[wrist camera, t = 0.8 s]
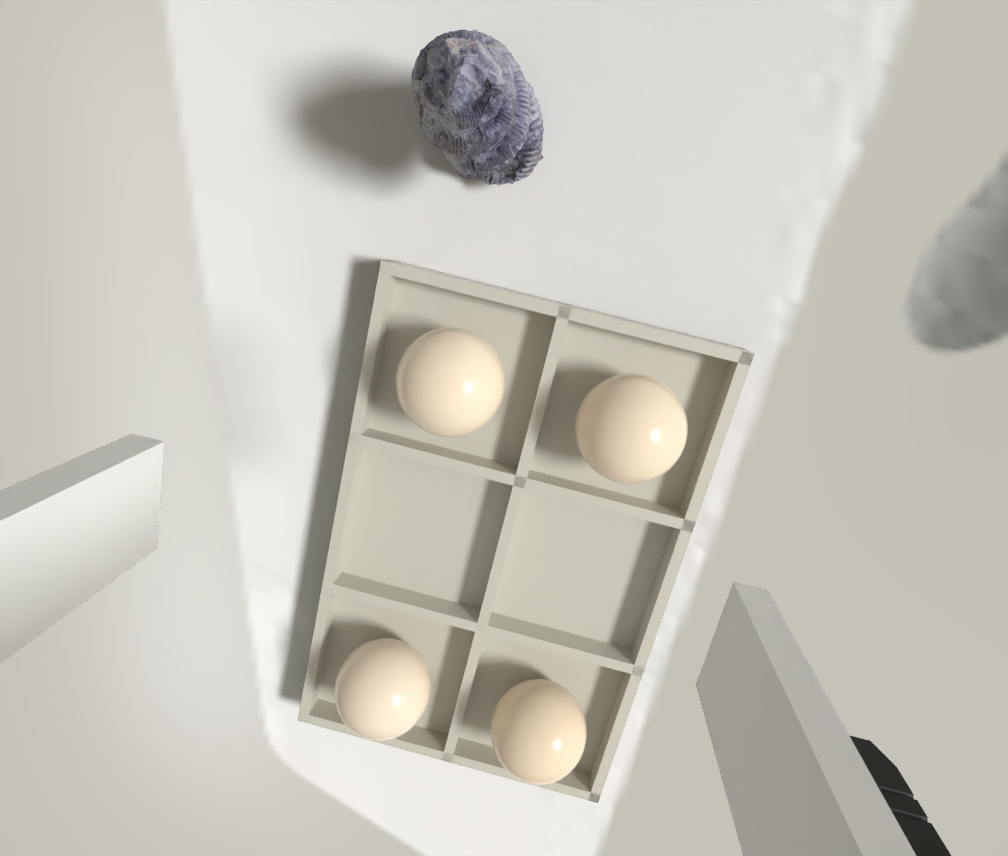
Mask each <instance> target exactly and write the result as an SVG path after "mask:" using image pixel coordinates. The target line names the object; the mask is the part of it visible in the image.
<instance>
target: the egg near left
mask: <svg viewBox="0 0 1008 856" xmlns="http://www.w3.org/2000/svg"><path fill="white" fill-rule="evenodd" d="M505 383H506V380H505V372H504V367H503V365H502V362H501V359H500V358H499V356H498V354H497V352H496V351H495V350H494V348H493V347H492V346H491V345H490V344H489V343H488V342H487V341H486V340H485V339H484V338H482V337H481V336H479V335H478V334H476V333H473V332H471V331H469V330H466V329H462V328H455V327H447V328H439V329H435V330H432V331H429V332H427V333H425V334H423V335H421V336H420V337H418V338H417V339H416V340H415V341H414V342H413V343H411V344H410V345H409V347H408V348H407V349H406V350H405V352H404V354H403V355H402V357H401V359H400V362H399V364H398V368H397V372H396V393H397V396H398V400H399V402H400V405H401V407H402V409H403V410H404V412H405V413H406V415H407V416H408V418H409V419H410V420H411V421H412V422H413V423H414V424H416V425H417V426H418V427H420V428H421V429H423V430H424V431H427V432H429V433H431V434H434V435H437V436H442V437H460V436H465V435H468V434H471V433H473V432H475V431H477V430H479V429H481V428H482V427H484V426H485V425H486V424H487V423H488V422H489V421H490V420H491V419H492V418H493V417H494V416H495V414H496V413H497V411H498V410H499V408H500V406H501V403H502V401H503V397H504V393H505Z"/></svg>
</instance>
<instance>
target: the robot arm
mask: <svg viewBox="0 0 1008 856" xmlns="http://www.w3.org/2000/svg"><path fill="white" fill-rule="evenodd" d="M163 449H164V442H163V441H160V440H156V439H151V438H147V437H143V436H139V435H135V434H130V435H128V436H126V437H123V438H121V439H119V440H116V441H114V442H112V443H109V444H108V445H105V446H103V447H100V448H98V449H96V450H93V451H91V452H89V453H86V454H84V455H82V456H80V457H77V458H75V459H72V460H70V461H68V462H66V463H63V464H61V465H59V466H56V467H54V468H52V469H49V470H47V471H45V472H42V473H40V474H38V475H35V476H33V477H31V478H28V479H26V480H24V481H22V482H19V483H17V484H15V485H12V486H10V487H8V488H5V489H3V490H1V491H0V663H1V662H3V661H4V660H5V659H7V658H8V657H10V656H11V655H12V654H14V653H15V652H16V651H18V650H19V649H21V648H22V647H23V646H25V645H26V644H27V643H29V642H30V641H31V640H33V639H34V638H35V637H37V636H38V635H40V634H41V633H42V632H44V631H45V630H46V629H48V628H49V627H51V626H52V625H53V624H55V623H56V622H57V621H59V620H60V619H61V618H63V617H64V616H65V615H67V614H68V613H70V612H71V611H72V610H74V609H75V608H76V607H78V606H79V605H81V604H82V603H83V602H84V601H86V600H87V599H89V598H90V597H91V596H93V595H94V594H96V593H97V592H98V591H100V590H101V589H102V588H104V587H105V586H106V585H108V584H109V583H110V582H112V581H113V580H114V579H116V578H117V577H119V576H120V575H121V574H123V573H124V572H126V571H127V570H128V569H130V568H131V567H132V566H134V565H135V564H136V563H138V562H139V561H141V560H142V559H143V558H145V557H146V556H147V555H149V554H150V553H151V552H153V551H154V550H156V549H157V545H158V529H159V513H160V498H161V482H162V466H163V451H164V450H163ZM696 687H697V690H698V694H699V697H700V701H701V704H702V708H703V712H704V715H705V719H706V722H707V726H708V730H709V733H710V737H711V741H712V744H713V748H714V751H715V755H716V759H717V762H718V766H719V770H720V773H721V777H722V780H723V784H724V788H725V791H726V795H727V798H728V802H729V806H730V810H731V813H732V817H733V820H734V824H735V828H736V831H737V835H738V839H739V842H740V846H741V849H742V853H743V856H951V855H950V853H949V851H948V850H947V848H946V846H945V845H944V843H943V842H942V840H941V839H940V837H939V835H938V834H937V832H936V830H935V829H934V827H933V825H932V824H931V823H928V822H927V816H926V814H925V812H924V811H923V809H922V808H921V806H920V804H919V803H918V801H917V800H914V799H913V793H912V791H911V790H910V788H909V786H908V785H907V783H906V782H905V780H904V778H903V777H902V775H901V773H900V772H899V770H898V769H897V767H896V766H895V765H894V764H893V763H892V762H891V761H890V760H889V759H888V758H887V757H886V756H885V755H884V754H883V753H882V752H881V751H880V750H879V749H878V748H877V747H876V746H875V745H874V744H873V743H872V742H871V741H869V740H865V739H860V738H856V737H853V736H849V734H848V733H847V731H846V729H845V727H844V725H843V724H842V722H841V720H840V718H839V716H838V715H837V713H836V711H835V709H834V708H833V706H832V704H831V702H830V700H829V699H828V697H827V695H826V693H825V691H824V690H823V688H822V686H821V684H820V682H819V681H818V679H817V677H816V675H815V674H814V672H813V670H812V668H811V666H810V664H809V663H808V661H807V659H806V657H805V656H804V654H803V652H802V650H801V648H800V647H799V645H798V643H797V641H796V640H795V638H794V636H793V634H792V632H791V630H790V629H789V627H788V625H787V623H786V621H785V620H784V618H783V616H782V614H781V613H780V611H779V609H778V607H777V605H776V604H775V602H774V600H773V598H772V596H771V595H770V593H769V591H768V590H765V589H761V588H757V587H753V586H749V585H745V584H741V583H736V582H733V585H732V587H731V590H730V593H729V596H728V598H727V601H726V604H725V606H724V609H723V612H722V615H721V618H720V620H719V623H718V626H717V628H716V631H715V634H714V637H713V639H712V642H711V645H710V647H709V650H708V653H707V656H706V658H705V662H704V664H703V667H702V669H701V672H700V675H699V677H698V680H697V683H696Z"/></svg>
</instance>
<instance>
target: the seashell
mask: <svg viewBox="0 0 1008 856" xmlns="http://www.w3.org/2000/svg"><path fill="white" fill-rule="evenodd" d="M412 88H413V95H414V97H415V101H416V105H417V109H418V113H419V115H420V118H421V123H420V125H421V128H422V129H423V131H424V133H425V135H426V137H427V138H428V139H429V140H430V141H431V142H432V143H433V144H434V145H435V146H437V147H439V148H441V149H442V151H443V153H444V157H445V159H446V160H447V161H448V162H449V163H450V164H451V165H452V166H453V168H454V169H455V170H457V171H458V172H459V174H460V176H463V177H466V178H482V179H484V180H485V183H487V184H497V185H498V186H499V185H501V184H506V183H511V184H513V183H514V182H515V181H520V180H521V179H523V178H525V177H527V176H529V175H530V174H531V173H532V172H533V169H534V167H535V166H536V165H537V163H538V161H540V160H541V159H542V158H543V156H542V154H541V152H542V141H543V131H544V129H543V120H542V117H541V115H542V114H541V113H540V105H539V104H538V103H537V102H538V99H536V98H534V92H533V88H532V87H531V86H530V84H529V83H528V82H527V81H526V80H525V77H524V75H523V73H522V71H521V70H520V66H519V64H518V63H517V62H516V61H515V60H514V58H513V56H512V54H511V53H510V52H509V50H508V49H507V48H506V47H505V46H504V45H503V44H502V43H501V42H499V41H497V40H495V39H494V38H493V37H492V36H489V35H485V34H484V33H480V32H478V31H476V30H473V31H467V30H458V31H451V32H449V33H444V34H442V35H440V36H437V37H436V38H435V39H434V40H433V41H431V42H429V43H428V44H427V45H426V47H425V48H424V49H422V50H421V51H420V54H419V56H418V57H417V60H416V62H415V66H414V69H413V71H412Z"/></svg>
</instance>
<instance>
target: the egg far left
mask: <svg viewBox="0 0 1008 856" xmlns="http://www.w3.org/2000/svg"><path fill="white" fill-rule="evenodd" d="M430 694H431V678H430V673H429V669H428V667H427V664H426V662H425V660H424V659H423V657H422V656H421V655H420V653H419V652H418V651H417V650H416V649H415V648H413V647H412V646H411V645H409V644H407V643H405V642H403V641H401V640H397V639H392V638H380V639H375V640H371V641H368V642H366V643H364V644H362V645H361V646H359V647H358V648H356V649H355V650H354V651H353V652H352V653H351V654H350V655H349V656H348V657H347V658H346V660H345V661H344V662H343V664H342V666H341V668H340V670H339V672H338V674H337V678H336V682H335V690H334V695H335V703H336V708H337V711H338V713H339V715H340V717H341V719H342V721H343V722H344V723H345V725H346V726H347V727H348V728H349V729H350V730H351V731H353V732H354V733H355V734H357V735H359V736H361V737H363V738H366V739H370V740H377V741H383V740H389V739H393V738H396V737H399V736H401V735H403V734H404V733H406V732H407V731H409V730H410V729H411V728H412V727H413V726H414V725H415V724H416V723H417V722H418V721H419V720H420V718H421V717H422V716H423V714H424V712H425V710H426V708H427V706H428V703H429V699H430Z"/></svg>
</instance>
